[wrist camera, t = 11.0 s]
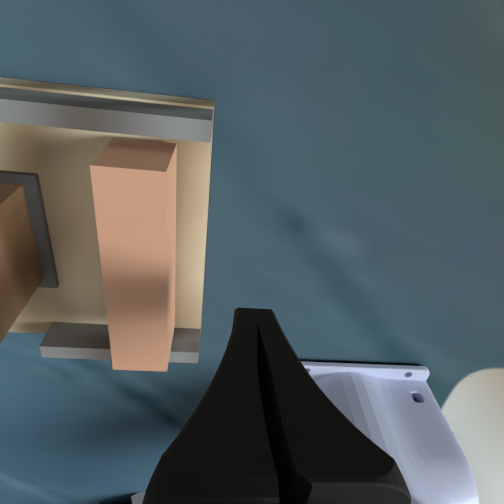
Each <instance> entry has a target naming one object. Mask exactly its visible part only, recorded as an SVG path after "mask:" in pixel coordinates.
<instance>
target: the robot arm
mask: <svg viewBox="0 0 504 504" xmlns="http://www.w3.org/2000/svg"><path fill="white" fill-rule="evenodd" d="M428 376H429V371H428V369H427V368H426V367H424V366H404V365H379V364H353V363H327V362H302V361H300V360H299V358H298V357H297V355H296V353H295V352H294V350H293V348H292V347H291V345H290V344H289V342H288V340H287V338H286V336H285V335H284V333H283V331H282V329H281V327H280V325H279V323H278V321H277V319H276V316H275V314H274V312H273V311H272V310H271V309H254V308H237V309H235V311H234V320H233V328H232V333H231V336H230V339H229V342H228V345H227V348H226V351H225V354H224V356H223V358H222V361H221V363H220V366H219V368H218V370H217V372H216V374H215V376H214V378H213V380H212V382H211V384H210V386H209V388H208V390H207V392H206V393H205V395H204V397H203V399H202V400H201V402H200V404H199V405H198V407H197V409H196V410H195V412H194V413H193V415H192V416H191V418H190V419H189V420H188V422H187V423H186V425H185V426H184V428H183V429H182V431H181V432H180V433H179V435H178V436H177V437H176V439H175V440H174V441H173V442H172V444H171V445H170V446H169V447H168V449H167V450H166V451H165V452H164V454H163V455H162V456H161V459H160V461H159V463H158V465H157V467H156V469H155V471H154V473H153V475H152V477H151V479H150V482H149V484H148V487H147V489H146V492H145V495H144V499H143V502H142V504H479V499H478V493H477V488H476V484H475V480H474V477H473V473H472V470H471V468H470V465H469V463H468V461H467V459H466V457H465V455H464V453H463V451H462V449H461V447H460V445H459V443H458V441H457V439H456V438H455V436H454V434H453V432H452V430H451V428H450V426H449V425H448V422H447V421H446V419H445V417H444V415H443V413H442V411H441V409H440V407H439V405H438V403H437V401H436V400H435V398H434V396H433V394H432V392H431V390H430V388H429V386H428V384H427V382H426V380H427V378H428Z"/></svg>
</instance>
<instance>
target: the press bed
mask: <svg viewBox="0 0 504 504" xmlns="http://www.w3.org/2000/svg"><path fill="white" fill-rule="evenodd" d="M213 118H214V101H213V100H204V99H195V98H186V97H177V96H167V95H158V94H149V93H140V92H131V91H122V90H112V89H103V88H94V87H85V86H76V85H67V84H57V83H48V82H39V81H30V80H21V79H12V78H2V77H0V183H8V184H21V185H23V188H24V192H25V197H26V201H27V206H28V210H29V215H30V219H31V224H32V228H33V233H34V238H35V242H36V247H37V251H38V256H39V260H40V265H41V269H42V274H43V278H44V279H43V280H42V282H41V283H40V285H39V286H38V288H37V289H36V291H35V292H34V294H33V295H32V297H31V298H30V300H29V301H28V303H27V304H26V306H25V307H24V309H23V310H22V311H21V313H20V314H19V316H18V317H17V319H16V320H15V322H14V323H13V325H12V326H11V328H10V329H9V331H8V332H25V333H47V334H46V335H45V337H44V339H43V341H42V343H41V344H40V346H39V347H40V351H41V355H42V357H44V358H71V359H98V360H112V356H111V348H110V339H109V330H108V321H107V313H106V304H105V295H104V286H103V278H102V269H101V260H100V251H99V243H98V234H97V225H96V216H95V208H94V199H93V190H92V181H91V173H90V164H91V163H92V162H93V161H94V160H95V158H96V157H97V156H98V155H99V154H100V153H101V152H102V150H103V149H104V148H105V147H106V146H107V145H108V143H109V142H110V141H111V140H112V139H113V138H125V139H135V140H145V141H156V142H166V143H177V167H176V264H175V327H174V333H173V339H172V345H171V351H170V357H169V362H178V363H198V357H199V345H200V334H201V320H202V303H203V287H204V270H205V253H206V236H207V219H208V202H209V186H210V169H211V152H212V135H213Z"/></svg>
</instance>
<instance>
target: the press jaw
mask: <svg viewBox="0 0 504 504" xmlns="http://www.w3.org/2000/svg"><path fill="white" fill-rule="evenodd" d="M176 167H177V143H166V142H156V141H145V140H135V139H125V138H113V139H112V140H111V141H110V142H109V143H108V145H107V146H106V147H105V148H104V149H103V150H102V152H101V153H100V154H99V155H98V156H97V157H96V158H95V160H94V161H93V162H92V163H91V164H90V173H91V181H92V190H93V199H94V208H95V216H96V225H97V234H98V243H99V251H100V260H101V269H102V278H103V286H104V295H105V304H106V313H107V321H108V330H109V339H110V348H111V356H112V365H113V370H139V371H167V369H168V363H169V357H170V351H171V345H172V339H173V333H174V327H175V264H176Z"/></svg>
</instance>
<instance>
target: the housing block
mask: <svg viewBox="0 0 504 504" xmlns="http://www.w3.org/2000/svg"><path fill="white" fill-rule="evenodd" d="M43 279H44V278H43V274H42V269H41V265H40V260H39V256H38V251H37V247H36V242H35V238H34V233H33V228H32V224H31V219H30V215H29V210H28V206H27V201H26V197H25V192H24V188H23V185H21V184H8V183H0V343H1V341H2V340H3V338H4V337H5V335H6V334H7V332H8V331H9V329H10V328H11V326H12V325H13V323H14V322H15V320H16V319H17V317H18V316H19V314H20V313H21V311H22V310H23V309H24V307H25V306H26V304H27V303H28V301H29V300H30V298H31V297H32V295H33V294H34V292H35V291H36V289H37V288H38V286H39V285H40V283H41V282H42V280H43Z"/></svg>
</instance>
